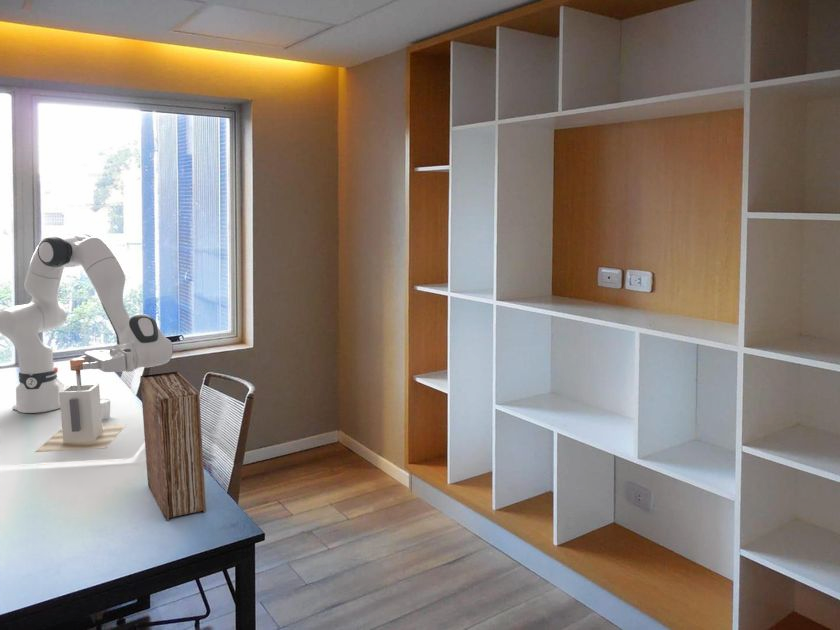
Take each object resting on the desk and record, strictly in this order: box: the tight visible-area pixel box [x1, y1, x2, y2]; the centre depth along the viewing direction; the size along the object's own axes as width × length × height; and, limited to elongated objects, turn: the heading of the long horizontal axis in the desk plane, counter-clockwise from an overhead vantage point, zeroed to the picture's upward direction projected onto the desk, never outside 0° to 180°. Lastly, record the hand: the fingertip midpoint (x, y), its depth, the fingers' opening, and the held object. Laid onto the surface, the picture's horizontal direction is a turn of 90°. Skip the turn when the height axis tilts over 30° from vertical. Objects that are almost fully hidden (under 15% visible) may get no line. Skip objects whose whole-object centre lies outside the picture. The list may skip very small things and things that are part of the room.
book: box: [140, 371, 207, 522], centre depth 175 cm, size 25×9×30 cm, turn 30°
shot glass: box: [100, 398, 111, 420], centre depth 243 cm, size 7×7×7 cm
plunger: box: [69, 357, 85, 391], centre depth 220 cm, size 6×6×24 cm
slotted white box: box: [59, 383, 103, 443], centre depth 220 cm, size 11×9×16 cm
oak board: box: [35, 423, 127, 453], centre depth 222 cm, size 24×20×1 cm
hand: (77, 364), depth 218 cm, fingers open, 8 cm apart
